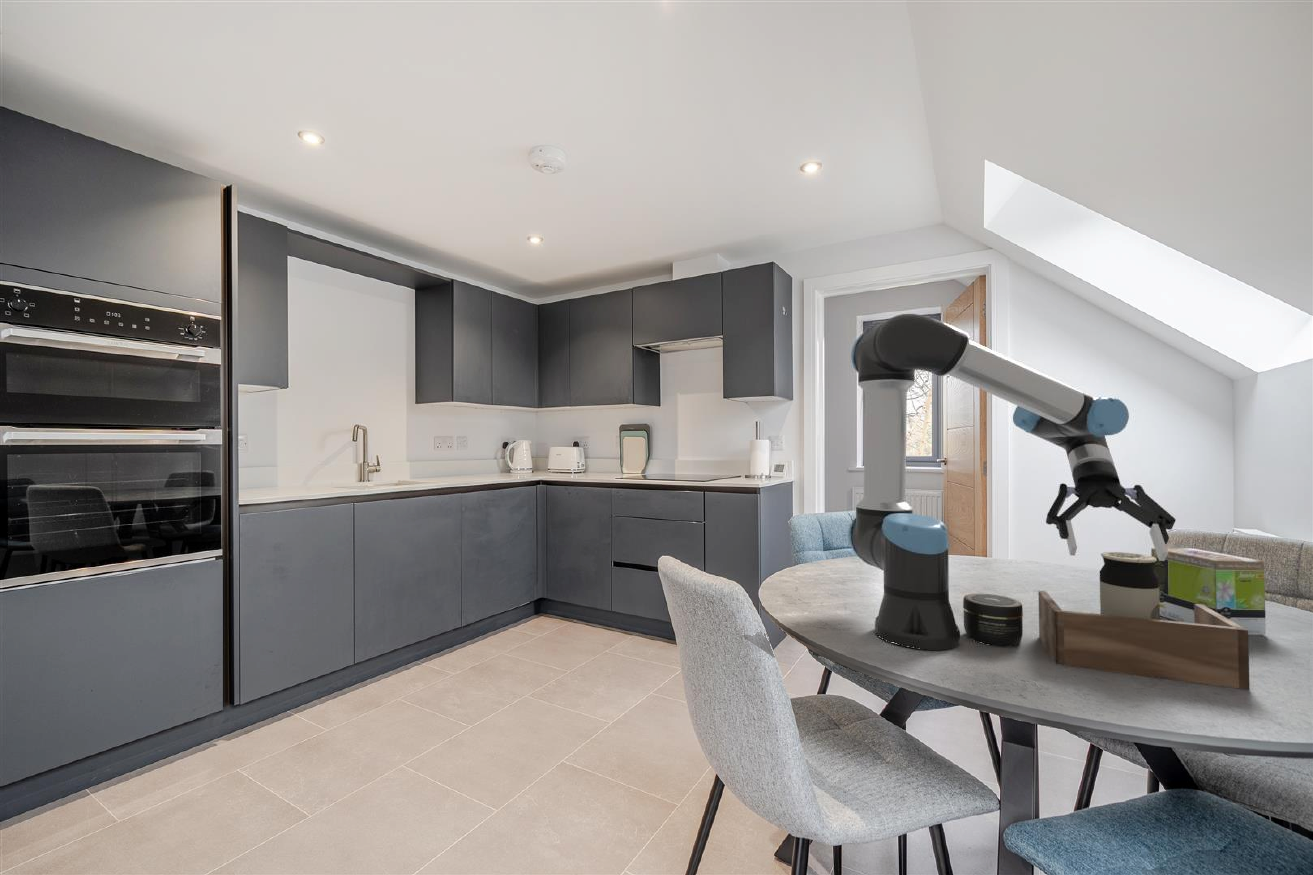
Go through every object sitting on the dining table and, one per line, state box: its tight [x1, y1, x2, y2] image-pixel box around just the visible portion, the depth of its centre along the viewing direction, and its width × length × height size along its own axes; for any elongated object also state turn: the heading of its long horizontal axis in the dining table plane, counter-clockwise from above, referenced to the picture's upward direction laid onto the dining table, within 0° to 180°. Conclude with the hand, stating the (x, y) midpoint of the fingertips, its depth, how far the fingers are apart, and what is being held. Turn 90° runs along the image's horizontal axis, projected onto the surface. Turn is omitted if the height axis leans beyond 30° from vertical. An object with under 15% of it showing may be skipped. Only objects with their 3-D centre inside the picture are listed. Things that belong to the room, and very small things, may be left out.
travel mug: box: [1099, 551, 1161, 620], centre depth 98 cm, size 8×8×18 cm
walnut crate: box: [1037, 590, 1251, 691], centre depth 98 cm, size 15×24×9 cm, turn 65°
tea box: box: [1150, 547, 1267, 636], centre depth 117 cm, size 15×10×15 cm
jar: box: [962, 593, 1024, 647], centre depth 109 cm, size 10×10×8 cm
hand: (1117, 554), depth 106 cm, fingers open, 13 cm apart
